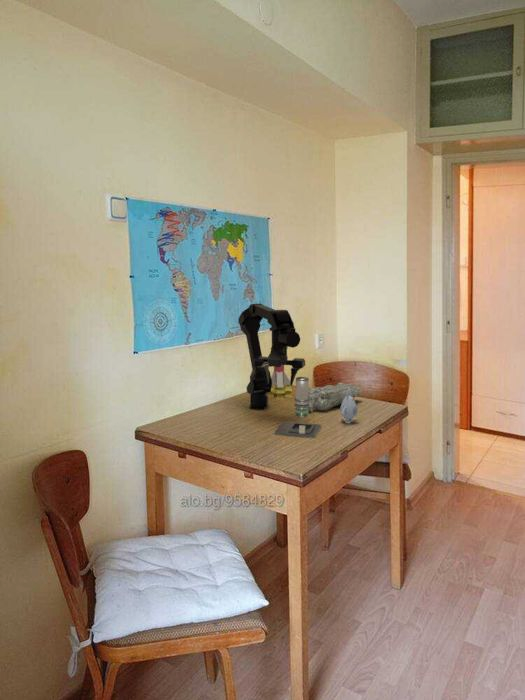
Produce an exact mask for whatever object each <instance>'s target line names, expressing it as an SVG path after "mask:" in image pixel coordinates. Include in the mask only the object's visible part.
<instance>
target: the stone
mask: <svg viewBox="0 0 525 700" xmlns="http://www.w3.org/2000/svg"><path fill="white" fill-rule="evenodd" d="M350 390H351V391H352V394H351V397H353V399H355V398H356V397H357V396H359V395H360V394H361V393H362V392H363V391H362V389H361V387H358V386H357V385H354V384H350V383H349V384H348V383H345V382H338V383H336V385H332V384H328V385H324V386H319V387H316V386H313V387H311V388H309V398H310V401H309V402H308V403H309V404H310V406H309V407H308V409H309V412H311V413H312V412H314V411H315V410H317V411H329V410H331V409H332V408H334V407H336V406H339V405H340V404H342V402H343V400H344V398H345V397H346V394H347V392H350Z"/></svg>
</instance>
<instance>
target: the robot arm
mask: <svg viewBox="0 0 525 700" xmlns="http://www.w3.org/2000/svg"><path fill="white" fill-rule="evenodd" d="M263 319H265V320H267V323H268V325H270V326H271V327H270V328H269V332H270V331H271V347H270V352H269V354H268V356H263V354H262V348H261V343H260V338H259V331H260V328H261V322H262V320H263ZM237 320H238V321H237V322H238V324H239V327H240V331H241V332H243V334H244V335H245V336H246V343H247V348H248V352H249V357H250V364H251V369H252V371H251V372H250V376H249V383H247V385H246V393H247V394H249V395H250V406H249V407H248V408H249V409H253V410H254V409H255V410H265V409H266V408H268V407H269V397H268V396H267V393H268V392H272V391H271V387H272V386H273V385H272V379H271V371H270V369H269V368H270V367H273V368H274V367H280V366H281V365H284V366H291V368H290V379H289V380H290V387H291V386H293V385H294V381H295V380H296V375H297V373H298V372H299V371H300V370H301V369H303V368H304V367H305V366H306V360H305V358H299V357H298V358H297V357H295V358H293V359H292V360H291V359H288V347H289V348H293V349H294V348H296V347H299V345H300V342H301V337H300V335H299V333H298V332H297V331H296V328H295V323H294V321H293V319H292V317H291V314H290V312H289V310H287V309H274V308H272V307H269V306H267V305H264V304H263V303H250V304H249V306H248V307H247V308H246V309H244V310H243V311H241V313H240V315H239V316H238V319H237Z"/></svg>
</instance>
